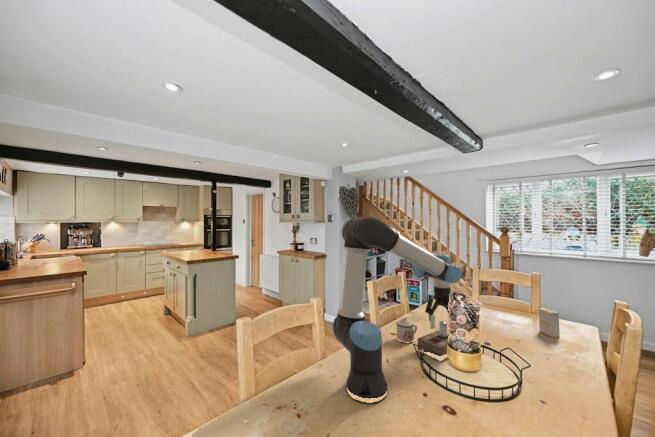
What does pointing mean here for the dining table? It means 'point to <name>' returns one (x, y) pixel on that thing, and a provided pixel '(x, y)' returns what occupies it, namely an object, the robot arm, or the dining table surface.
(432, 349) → the bore block
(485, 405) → the dining table surface
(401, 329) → the teacup with lid
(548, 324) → the supplement box
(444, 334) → the pin
